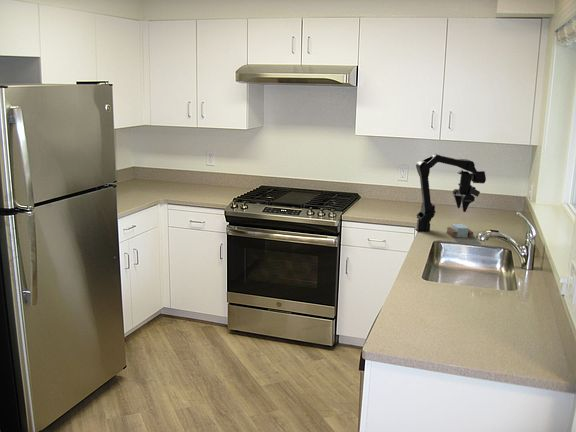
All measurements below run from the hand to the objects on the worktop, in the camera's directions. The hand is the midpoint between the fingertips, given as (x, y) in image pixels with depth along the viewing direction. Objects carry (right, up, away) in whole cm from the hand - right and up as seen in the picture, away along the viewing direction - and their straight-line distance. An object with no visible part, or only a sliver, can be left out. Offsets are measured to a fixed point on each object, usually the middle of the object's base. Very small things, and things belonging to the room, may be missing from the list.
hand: (461, 210), depth 333 cm
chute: (-3, -14, -7) cm, 16 cm away
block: (-3, -14, -7) cm, 16 cm away
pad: (-2, -17, -17) cm, 24 cm away
